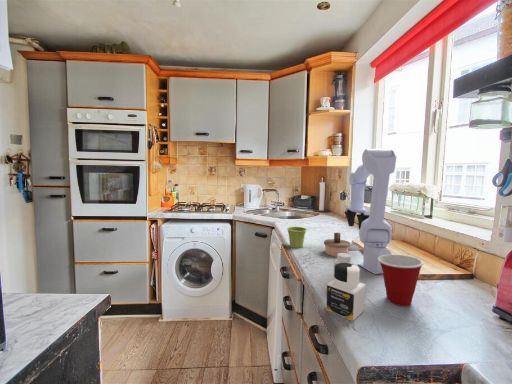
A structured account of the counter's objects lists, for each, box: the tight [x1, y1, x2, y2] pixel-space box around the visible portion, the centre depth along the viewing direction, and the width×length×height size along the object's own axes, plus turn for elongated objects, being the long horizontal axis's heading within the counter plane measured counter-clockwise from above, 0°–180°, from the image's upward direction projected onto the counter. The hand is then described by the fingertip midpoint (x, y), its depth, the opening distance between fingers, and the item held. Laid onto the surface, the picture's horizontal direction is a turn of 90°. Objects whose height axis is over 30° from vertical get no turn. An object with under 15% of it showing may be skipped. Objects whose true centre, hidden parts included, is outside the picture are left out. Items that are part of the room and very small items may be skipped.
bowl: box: [324, 244, 349, 258], centre depth 108 cm, size 9×9×4 cm
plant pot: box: [286, 226, 307, 249], centre depth 119 cm, size 9×9×9 cm
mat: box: [348, 243, 362, 252], centre depth 117 cm, size 12×12×1 cm
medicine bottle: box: [326, 263, 366, 322], centre depth 64 cm, size 7×7×12 cm
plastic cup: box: [378, 254, 424, 307], centre depth 69 cm, size 11×11×12 cm
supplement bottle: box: [333, 253, 354, 267], centre depth 77 cm, size 6×6×10 cm
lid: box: [323, 232, 352, 248], centre depth 107 cm, size 11×11×5 cm
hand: (356, 228), depth 115 cm, fingers open, 7 cm apart
